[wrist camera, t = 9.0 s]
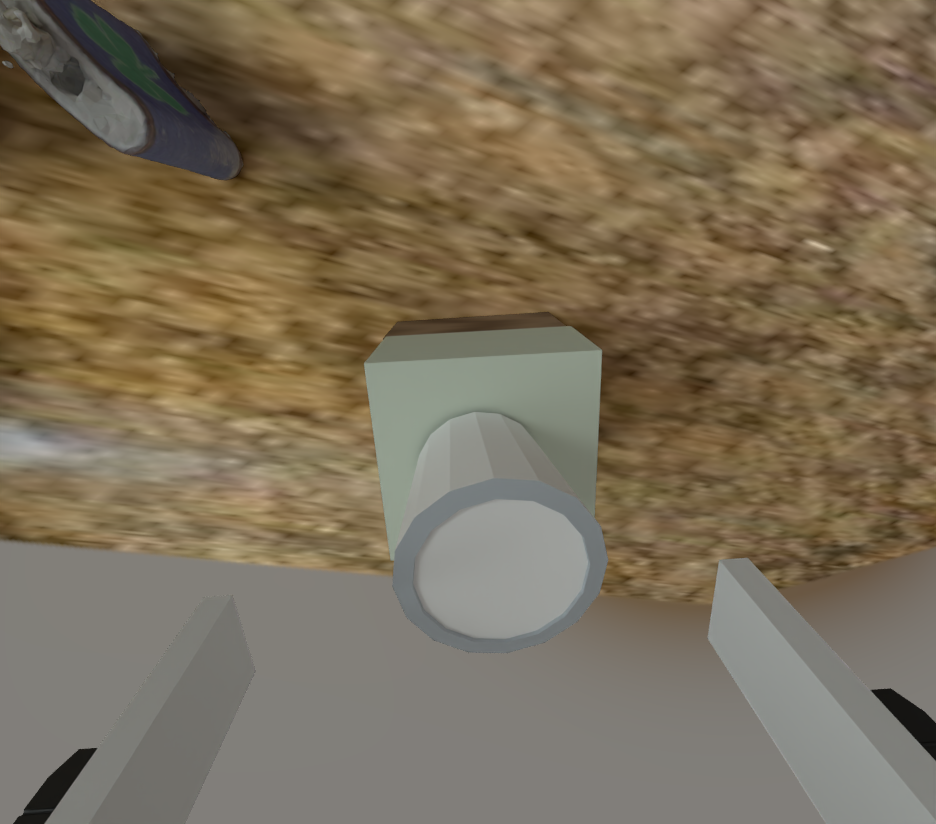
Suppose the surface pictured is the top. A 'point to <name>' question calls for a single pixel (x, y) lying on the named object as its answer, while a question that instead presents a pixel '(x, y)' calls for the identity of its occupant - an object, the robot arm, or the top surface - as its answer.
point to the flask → (114, 84)
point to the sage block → (484, 400)
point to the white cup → (494, 540)
